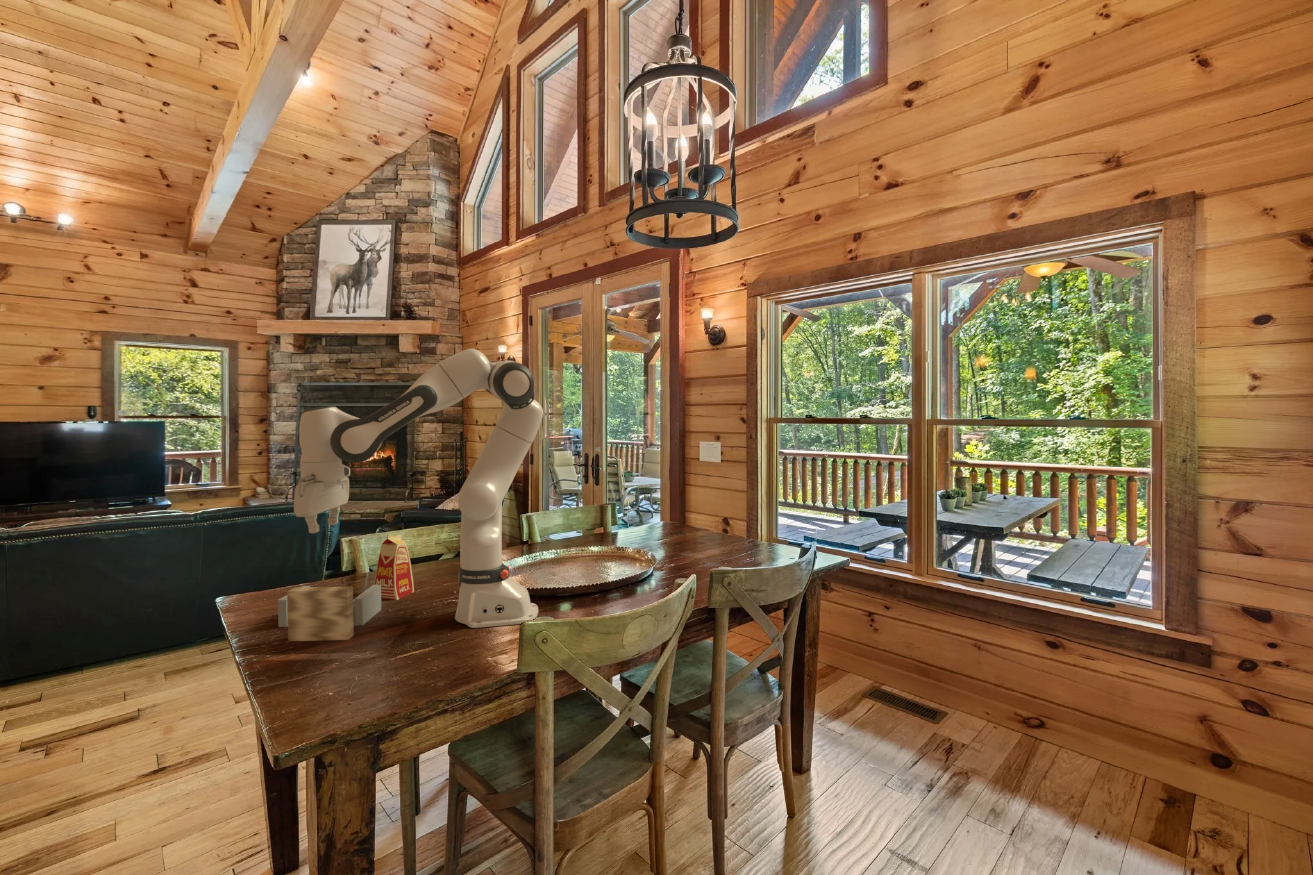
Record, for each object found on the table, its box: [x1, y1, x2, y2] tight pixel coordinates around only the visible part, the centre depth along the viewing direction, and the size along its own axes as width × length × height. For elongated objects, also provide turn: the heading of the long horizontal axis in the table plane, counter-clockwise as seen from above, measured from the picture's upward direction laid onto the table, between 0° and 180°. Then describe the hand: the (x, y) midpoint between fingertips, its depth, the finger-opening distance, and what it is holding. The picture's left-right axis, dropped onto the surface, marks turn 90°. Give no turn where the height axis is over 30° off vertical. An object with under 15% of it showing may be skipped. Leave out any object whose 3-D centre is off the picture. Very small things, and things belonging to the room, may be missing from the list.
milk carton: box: [373, 534, 415, 601], centre depth 175 cm, size 9×9×20 cm
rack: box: [277, 584, 382, 628], centre depth 155 cm, size 21×12×8 cm, turn 94°
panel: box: [286, 586, 355, 642], centre depth 142 cm, size 14×3×13 cm, turn 94°
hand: (323, 528), depth 142 cm, fingers open, 8 cm apart
